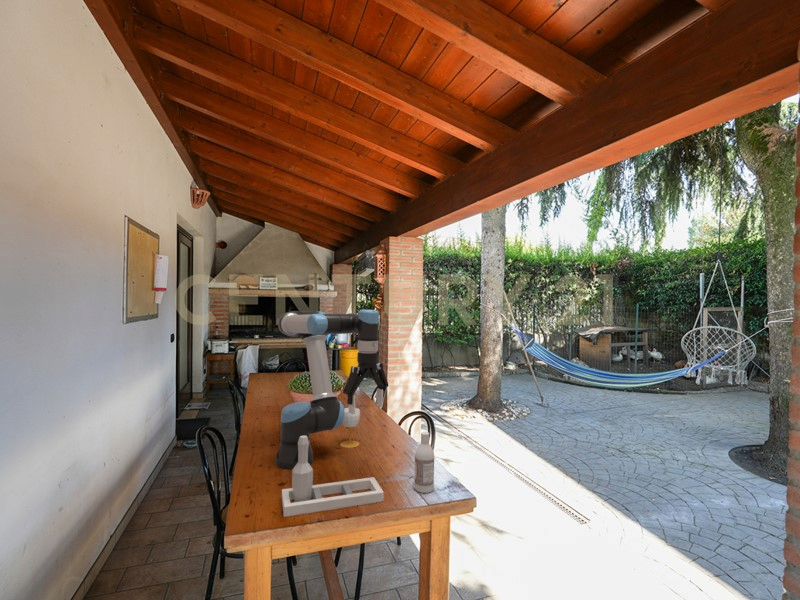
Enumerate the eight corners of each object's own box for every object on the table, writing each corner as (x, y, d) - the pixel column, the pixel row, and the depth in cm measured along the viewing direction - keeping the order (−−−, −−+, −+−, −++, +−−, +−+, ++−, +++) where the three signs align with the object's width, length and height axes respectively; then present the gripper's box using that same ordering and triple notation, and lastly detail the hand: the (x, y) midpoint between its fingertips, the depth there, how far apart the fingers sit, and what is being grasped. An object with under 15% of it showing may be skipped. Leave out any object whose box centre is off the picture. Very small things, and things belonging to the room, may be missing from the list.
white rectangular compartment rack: (283, 517, 120) (284, 507, 120) (281, 498, 131) (281, 489, 131) (383, 501, 131) (383, 492, 131) (373, 485, 142) (373, 477, 142)
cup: (346, 449, 176) (347, 413, 176) (336, 443, 183) (337, 409, 183) (363, 445, 182) (364, 410, 182) (352, 439, 189) (353, 406, 189)
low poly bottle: (315, 504, 128) (317, 436, 128) (299, 511, 123) (300, 441, 123) (304, 497, 132) (306, 432, 132) (287, 504, 127) (289, 436, 127)
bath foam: (413, 484, 143) (415, 429, 144) (432, 484, 143) (434, 430, 144) (414, 493, 137) (415, 436, 137) (434, 494, 136) (435, 436, 137)
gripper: (347, 355, 132) (345, 418, 132) (398, 350, 150) (396, 405, 150) (334, 353, 137) (332, 413, 137) (384, 348, 155) (383, 401, 155)
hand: (366, 409), depth 143 cm, fingers open, 13 cm apart
